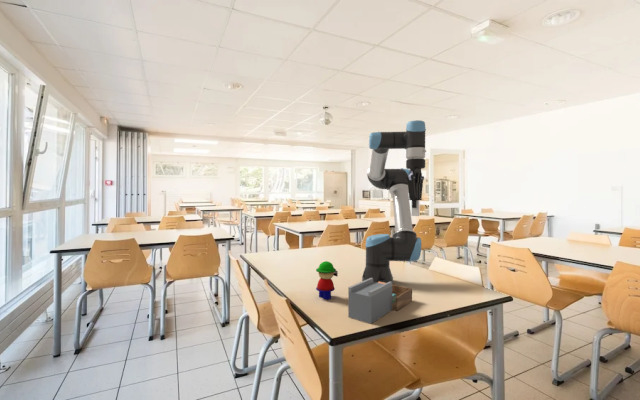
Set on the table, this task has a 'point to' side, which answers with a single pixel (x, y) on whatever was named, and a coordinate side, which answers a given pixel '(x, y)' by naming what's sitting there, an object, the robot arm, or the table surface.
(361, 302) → the grey stepped block
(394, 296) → the teal square block
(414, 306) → the table surface
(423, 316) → the table surface
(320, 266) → the toy
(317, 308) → the table surface
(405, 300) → the crate
